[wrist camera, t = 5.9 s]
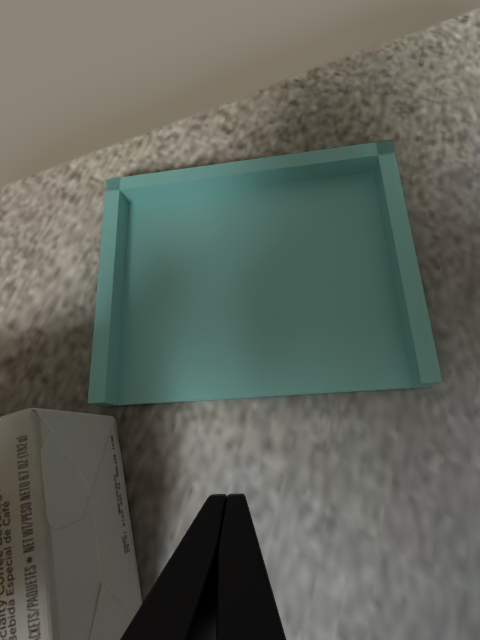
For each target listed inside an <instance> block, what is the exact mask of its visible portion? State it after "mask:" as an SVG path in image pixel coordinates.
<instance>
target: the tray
mask: <svg viewBox="0 0 480 640" xmlns="http://www.w3.org/2000/svg"><path fill="white" fill-rule="evenodd" d="M441 382H443V381H442V376H441V371H440V367H439V362H438V357H437V352H436V347H435V343H434V338H433V333H432V328H431V323H430V319H429V314H428V309H427V304H426V299H425V295H424V290H423V285H422V280H421V275H420V271H419V266H418V261H417V256H416V251H415V247H414V242H413V237H412V232H411V227H410V223H409V218H408V213H407V208H406V203H405V199H404V194H403V189H402V184H401V179H400V174H399V170H398V165H397V160H396V155H395V150H394V146H393V141H392V140H387V141H380V142H373V143H366V144H358V145H351V146H344V147H337V148H329V149H322V150H315V151H308V152H301V153H293V154H286V155H279V156H272V157H264V158H257V159H250V160H243V161H235V162H228V163H221V164H214V165H207V166H199V167H192V168H185V169H178V170H170V171H163V172H156V173H149V174H141V175H134V176H127V177H120V178H113V179H106V188H105V200H104V212H103V224H102V236H101V248H100V260H99V272H98V284H97V296H96V308H95V320H94V332H93V344H92V356H91V367H90V379H89V391H88V404H93V405H98V406H103V407H105V406H122V405H139V404H156V403H173V402H189V401H206V400H223V399H240V398H257V397H274V396H291V395H307V394H324V393H341V392H358V391H375V390H392V389H409V388H425V387H432V386H434V385H437V384H439V383H441Z"/></svg>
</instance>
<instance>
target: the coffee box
mask: <svg viewBox="0 0 480 640" xmlns="http://www.w3.org/2000/svg"><path fill="white" fill-rule="evenodd" d="M141 605H142V596H141V589H140V582H139V575H138V569H137V562H136V555H135V549H134V542H133V535H132V528H131V521H130V514H129V508H128V501H127V493H126V486H125V479H124V472H123V465H122V458H121V451H120V444H119V437H118V429H117V423H116V420H115V418H114V417H113V416H107V415H98V414H89V413H80V412H71V411H62V410H53V409H43V408H27V409H24V410H20V411H17V412H14V413H11V414H7V415H4V416H1V417H0V640H120V639H121V637H122V635H123V634H124V632H125V631H126V629H127V627H128V626H129V624H130V622H131V621H132V619H133V618H134V616H135V614H136V613H137V611H138V610H139V608H140V606H141Z"/></svg>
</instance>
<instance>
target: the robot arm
mask: <svg viewBox="0 0 480 640" xmlns="http://www.w3.org/2000/svg"><path fill="white" fill-rule="evenodd" d="M120 640H286V637H285V634H284V630H283V627H282V623H281V620H280V616H279V613H278V609H277V606H276V602H275V598H274V595H273V591H272V588H271V584H270V581H269V577H268V574H267V570H266V567H265V563H264V560H263V556H262V553H261V549H260V546H259V542H258V539H257V535H256V532H255V528H254V525H253V521H252V518H251V514H250V511H249V507H248V504H247V500H246V497H245V495H244V494H229V495H228V496H227V495H226V494H212V495H210V496H209V497H208V499H207V500H206V502H205V503H204V505H203V507H202V508H201V510H200V511H199V513H198V515H197V516H196V518H195V519H194V521H193V523H192V524H191V526H190V527H189V529H188V531H187V532H186V534H185V536H184V537H183V539H182V540H181V542H180V544H179V545H178V547H177V548H176V550H175V552H174V553H173V555H172V556H171V558H170V560H169V561H168V563H167V564H166V566H165V568H164V569H163V571H162V573H161V574H160V576H159V577H158V579H157V581H156V582H155V584H154V585H153V587H152V589H151V590H150V592H149V593H148V595H147V597H146V598H145V600H144V602H143V603H142V605H141V606H140V608H139V610H138V611H137V613H136V614H135V616H134V618H133V619H132V621H131V622H130V624H129V626H128V627H127V629H126V631H125V632H124V634H123V635H122V637H121V639H120Z"/></svg>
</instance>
